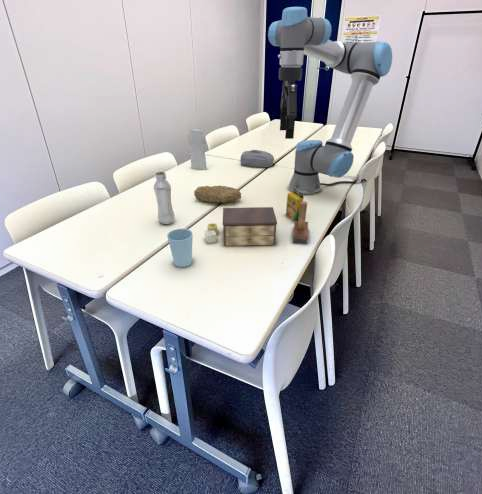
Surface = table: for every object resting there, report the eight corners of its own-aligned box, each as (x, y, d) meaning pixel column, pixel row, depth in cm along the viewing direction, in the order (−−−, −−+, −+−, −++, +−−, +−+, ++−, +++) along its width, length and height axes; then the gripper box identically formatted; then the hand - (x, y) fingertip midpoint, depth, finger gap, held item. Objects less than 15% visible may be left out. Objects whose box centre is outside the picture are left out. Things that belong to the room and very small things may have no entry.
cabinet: (271, 228, 123) (272, 207, 118) (276, 246, 111) (277, 223, 107) (223, 229, 123) (223, 207, 118) (223, 247, 111) (222, 224, 106)
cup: (166, 261, 104) (162, 233, 98) (186, 253, 108) (183, 226, 102) (178, 272, 99) (175, 243, 93) (199, 263, 103) (197, 235, 98)
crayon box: (285, 215, 133) (287, 188, 127) (291, 213, 134) (293, 187, 128) (294, 222, 127) (297, 195, 121) (301, 221, 128) (304, 193, 122)
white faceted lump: (204, 231, 114) (205, 239, 116) (207, 236, 111) (207, 244, 113) (214, 229, 115) (214, 237, 117) (217, 234, 113) (217, 242, 114)
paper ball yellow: (207, 223, 120) (207, 231, 121) (207, 228, 117) (208, 235, 118) (216, 222, 120) (216, 230, 122) (217, 227, 117) (217, 234, 119)
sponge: (193, 204, 145) (229, 204, 135) (190, 187, 143) (228, 186, 133) (210, 200, 156) (245, 199, 146) (208, 183, 154) (244, 182, 144)
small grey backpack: (238, 166, 190) (270, 170, 184) (237, 152, 185) (271, 155, 179) (246, 159, 202) (277, 162, 196) (246, 146, 197) (277, 148, 192)
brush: (307, 229, 122) (311, 196, 115) (307, 244, 113) (311, 209, 106) (293, 228, 123) (296, 196, 116) (292, 243, 114) (296, 208, 107)
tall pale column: (189, 168, 187) (185, 129, 176) (192, 166, 190) (189, 127, 179) (205, 170, 184) (202, 130, 172) (208, 168, 187) (206, 129, 175)
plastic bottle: (161, 227, 124) (154, 177, 114) (156, 220, 129) (149, 172, 119) (177, 223, 127) (171, 174, 116) (172, 217, 132) (166, 169, 121)
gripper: (274, 65, 115) (271, 127, 126) (285, 68, 93) (280, 142, 104) (295, 65, 115) (290, 127, 126) (310, 68, 94) (303, 142, 105)
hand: (286, 134), depth 115 cm, fingers open, 13 cm apart
